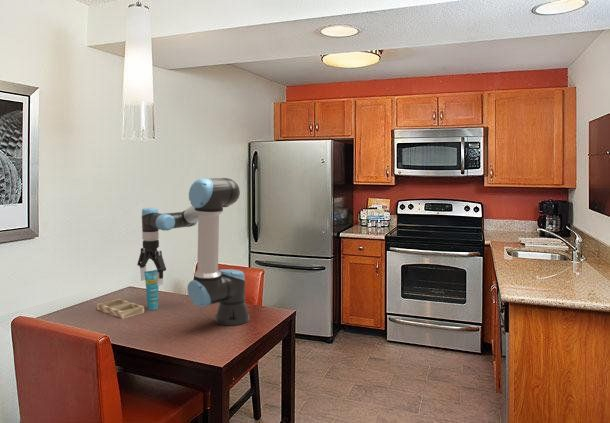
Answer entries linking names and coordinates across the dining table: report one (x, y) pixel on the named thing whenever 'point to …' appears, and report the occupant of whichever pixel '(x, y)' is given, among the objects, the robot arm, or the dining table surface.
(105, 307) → the wooden compartment tray
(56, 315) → the dining table surface
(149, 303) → the tube
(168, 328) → the dining table surface
